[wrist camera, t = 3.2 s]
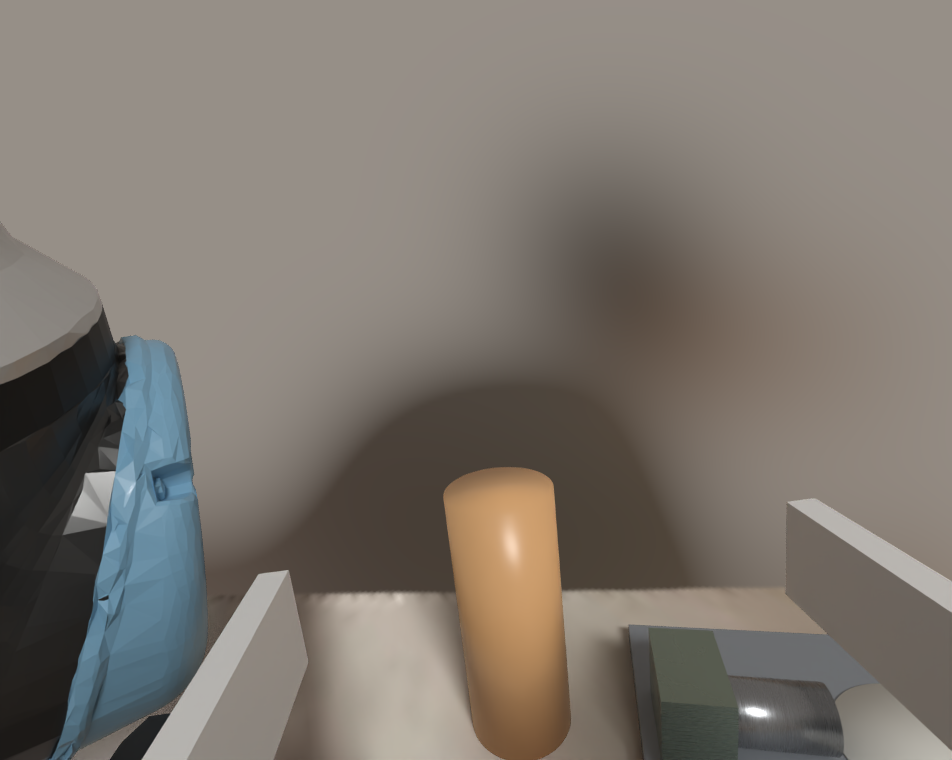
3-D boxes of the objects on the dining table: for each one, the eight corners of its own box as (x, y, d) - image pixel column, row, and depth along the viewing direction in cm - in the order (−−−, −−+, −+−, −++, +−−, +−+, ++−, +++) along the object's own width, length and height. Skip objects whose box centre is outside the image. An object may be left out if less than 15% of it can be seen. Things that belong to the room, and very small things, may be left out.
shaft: (662, 773, 22) (661, 701, 21) (650, 690, 26) (648, 627, 26) (851, 793, 21) (857, 717, 20) (806, 702, 25) (809, 635, 24)
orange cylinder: (462, 755, 25) (429, 516, 22) (482, 672, 30) (457, 467, 27) (569, 767, 24) (550, 517, 21) (572, 678, 29) (556, 466, 26)
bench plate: (662, 925, 18) (662, 902, 18) (629, 638, 31) (628, 623, 31) (1556, 1080, 13) (1572, 1052, 13) (1068, 663, 26) (1071, 645, 26)
